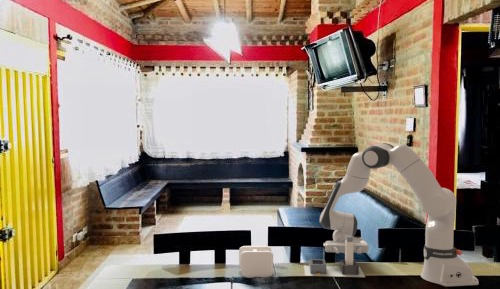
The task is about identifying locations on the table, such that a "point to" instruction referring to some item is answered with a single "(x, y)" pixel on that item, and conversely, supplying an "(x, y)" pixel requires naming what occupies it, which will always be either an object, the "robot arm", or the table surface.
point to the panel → (339, 270)
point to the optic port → (317, 266)
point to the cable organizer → (256, 261)
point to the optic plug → (349, 250)
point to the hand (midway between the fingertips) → (348, 251)
